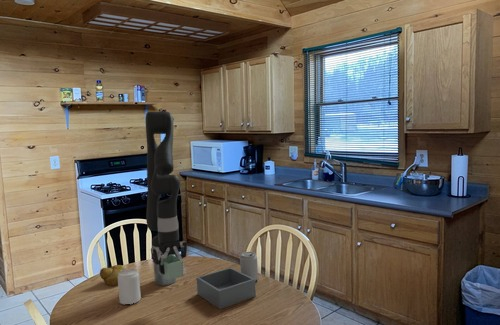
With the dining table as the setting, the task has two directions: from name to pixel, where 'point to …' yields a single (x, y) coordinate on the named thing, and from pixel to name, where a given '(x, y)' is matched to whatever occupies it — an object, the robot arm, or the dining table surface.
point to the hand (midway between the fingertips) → (170, 271)
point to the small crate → (172, 267)
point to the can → (249, 264)
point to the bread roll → (111, 274)
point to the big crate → (226, 287)
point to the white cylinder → (129, 286)
